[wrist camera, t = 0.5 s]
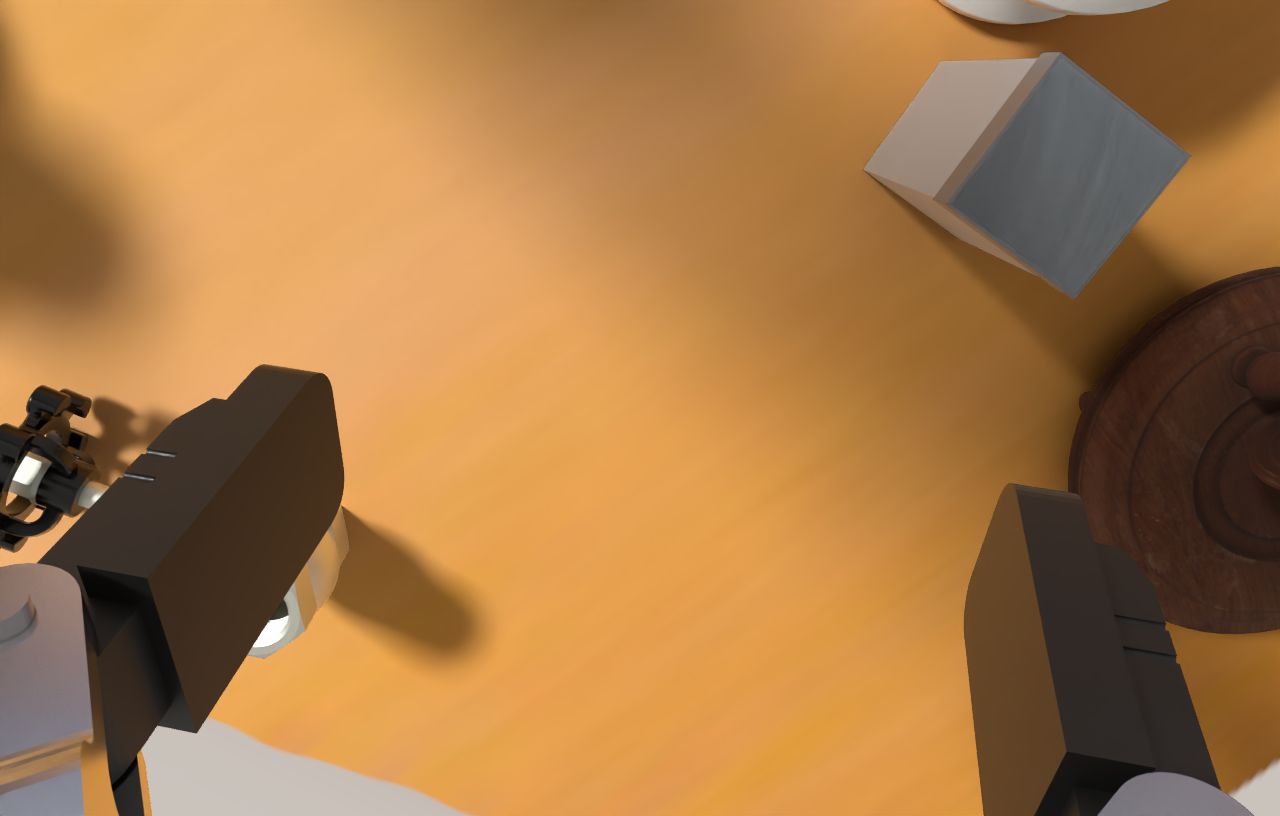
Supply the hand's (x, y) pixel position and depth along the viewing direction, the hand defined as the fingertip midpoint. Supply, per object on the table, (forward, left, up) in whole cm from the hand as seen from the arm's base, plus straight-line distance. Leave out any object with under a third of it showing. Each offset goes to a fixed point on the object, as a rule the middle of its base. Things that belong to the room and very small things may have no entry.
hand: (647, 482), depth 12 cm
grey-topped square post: (0, +12, -26) cm, 29 cm away
